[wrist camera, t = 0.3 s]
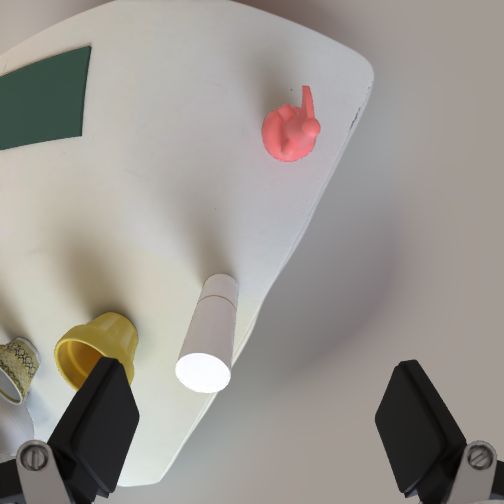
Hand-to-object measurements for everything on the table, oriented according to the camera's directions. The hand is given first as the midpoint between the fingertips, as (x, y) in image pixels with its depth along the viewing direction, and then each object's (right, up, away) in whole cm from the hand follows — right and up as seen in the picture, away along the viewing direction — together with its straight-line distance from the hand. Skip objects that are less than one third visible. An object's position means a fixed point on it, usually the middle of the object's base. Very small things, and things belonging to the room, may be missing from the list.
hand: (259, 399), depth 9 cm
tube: (-4, 0, +27) cm, 27 cm away
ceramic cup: (-43, -13, +31) cm, 54 cm away
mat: (-30, +25, +18) cm, 43 cm away
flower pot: (-19, -6, +29) cm, 35 cm away
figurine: (+3, +17, +21) cm, 27 cm away
